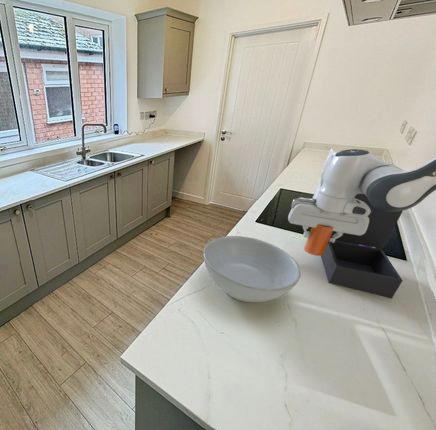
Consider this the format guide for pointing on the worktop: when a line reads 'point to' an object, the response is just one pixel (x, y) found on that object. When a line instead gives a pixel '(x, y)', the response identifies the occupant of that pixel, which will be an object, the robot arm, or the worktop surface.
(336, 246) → the black box
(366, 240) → the box lid
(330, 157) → the skyscraper
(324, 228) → the cup
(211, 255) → the decorative bowl
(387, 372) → the worktop surface
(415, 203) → the robot arm
